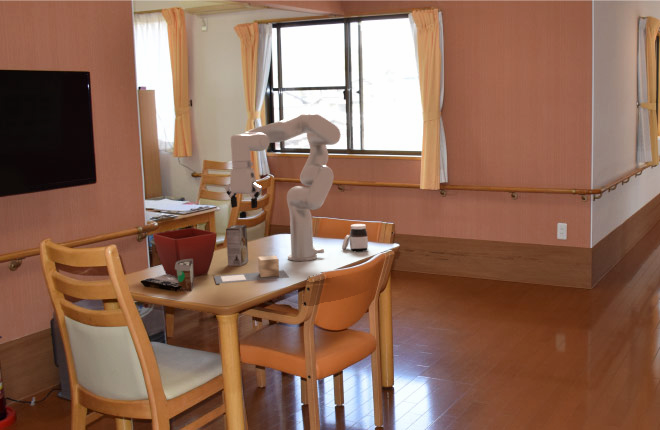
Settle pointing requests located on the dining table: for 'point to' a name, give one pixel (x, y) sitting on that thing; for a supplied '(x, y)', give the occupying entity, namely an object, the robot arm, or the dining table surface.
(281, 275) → the topple mat
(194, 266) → the plant pot
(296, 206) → the robot arm
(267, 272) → the oak cube
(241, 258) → the coffee box
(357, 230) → the spread jar
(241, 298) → the dining table surface
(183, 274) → the food container
